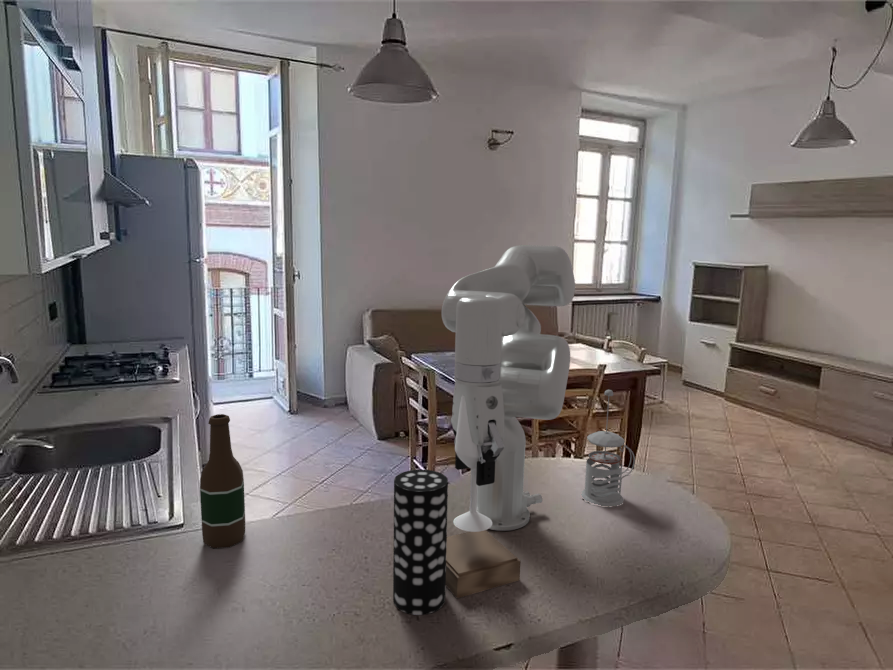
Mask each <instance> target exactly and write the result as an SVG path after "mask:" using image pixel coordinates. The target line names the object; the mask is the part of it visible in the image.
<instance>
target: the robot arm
mask: <svg viewBox="0 0 893 670" xmlns="http://www.w3.org/2000/svg"><path fill="white" fill-rule="evenodd" d="M572 266H573V265H572V262H571V259H570V256H569V254H568V253H567V251H566V250H565V249H564V248H562V247H561V246H558V245H557V246H556V245H530V244H529V245H522V244H521V245H514V246H511V247H509V248H508V249H507V250H505V251H504V252H503V254H502V255H501V256H500V258H499V259H498V261H497V262H496V264H495V265H494V266H493V267H490V268H486V269H484V270H481V271H477V272H474V273H470V274H468V275H466V276H463V277H461V278H460V279H458V280H457V281H456V282H455V283H454V284H453V285H452V287H450V289H449V290H448V292H447V293H446V295H445V297H444V299H443V302H442V304H441V305H442V306H441V319H442V323H443V325H444V326H445V328H446V329H447V330H449V331H451V332H452V333H455V338H454V339H455V340H454V343H455V344H454V377H453V378H454V387H453V388H454V390H453V396H452V397H453V398H452V409H451V410H452V416H451V418H450V422H451V426H452V429H453V430H452V433H453V435H454V441H453V442H454V445H455V443H456V434H457V426H458V417H459V409H460V402H461V397H462V395H463V396H464V398H465V402H466V409H467V416H468V423H469V429H470V434H471V439H472V442H473V443H474V444H476V445H477V450H478V456H479V461H478V462H477V472H476V484H477V512H479V513H481V514H483V515H485V516H486V517H488V518H490V519H491V520H492V526H491V527H490V528H489V529H488V530H492V531H498V532H499V531H502V532H504V531H515V530H518V529H521V528H522V527H524V526H526V525H527V524H528V523H529V522H530V518H531V515H530V514H531V513H530V511H529V509H528V508H530V506H531V505H536V504H537V505H538V504H540V503H542V502H543V496H542V495H541V494H542V493H541V494H540V493H535V494H531V493H530V491H524V487H525V486H524V484H525V483H524V482H525V481H524V480H525V479H524V478H525V464H526V463H525V462H526V461H525V459H526V443H527V442H526V441H527V440H526V435H525V434H526V433H525V431H524V429H523V426H522V425H521V423H520V421H519V420H518V419H517V418H524V419H525V418H527V419H534V420H546V421H548V420H550V421H551V420H554V419H556V418H557V417H559V415H560V414H561V412H562V409H563V406H564V401H565V396H566V390H567V384H568V378H569V374H570V373H569V372H570V366H571V348H570V346H569V343H568V341H567V340H566V339H565V338H563V337H562V336H559V335H553V334H544V333H543V334H542V333H541V332H542V331H541V330H542V325H541V322H540V321H539V320H538V318H537V316H536V315H535V314H534V312H533V311H532V310H531V309H529V308H528V307H527V305H528V306H542V307H543V306H545V307H566V306H568V305H569V304H571V302H572V301H573V299H574V296H575V292H576V281H575V279H576V278H575V275H574V271H573V267H572ZM484 438H490V442H483V439H484ZM484 446H489V450H488V451H487V452H486V453H484V448H483V447H484ZM454 459H455V460H454V461H455V462H454V468H455V469H456V470H457V471H459V470H464V469H465V470H466V469H470V468H469V467H467V466H466V465H465V464H464V463H463V462H462V461H461V460H460V459H459V457H458V456H457V454H456V452H455V458H454ZM469 511H470V507H469V508H468V512H469Z"/></svg>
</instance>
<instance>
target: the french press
mask: <svg viewBox="0 0 893 670" xmlns="http://www.w3.org/2000/svg"><path fill="white" fill-rule="evenodd" d="M604 396H607V397H608V398H607V399H608V400H607V413H606V427H605V428H606V429H605V430H598V431H595V432H592V433H590V434H588V435H587V436H586V437H587V441H588V442H589V443H590V444H591V445H594V446H597V447H604V450H594V451H593V450H592V451H591V452H589V453H588V454H587V456H588V458H587V460H586V461H585V462H586V463H585V479H584V489H583V490H582V491H581V492H582V494H581V495H582V497H583V498H584V499H585V500H586V501H589V502H591V503H594V504H598V505H601V506H617V505H620V504H622V503H623V501H624V502H625V499H624V497H623V495H622V494H621V492H622V480H623V479H624V478H625V477H627V476H629V475H630V474H631V473H632V471H633V469H634V467H635V461H636V457H635V454H634V451H632V449H631V448H630V447H629V446H628V445H626V444H625V442H626V440H625V439H624V438H623V437H622V436H620V435H619V434H617V433H615V432H612V431H609V430H608V422H609V420H608V419H609V406H610V405H609V404H610V397H613V396H614V392H613V390H612V389H606V390H605V391H604ZM606 448H611V449H612V448H619V451H621V453H623V452H624V451H625V448H626V449H627V450H628V451H629V455H630V456H629V458H630V460H629V464H628V466H627V468H626V469H625V470H624V471H623V464H622V463H620V462H621V460H622V457H621V456H620V455H619V454H617V453H615V452H611V451H606ZM632 459H633V462H632ZM596 463H598V464H596ZM631 464H632V466H631ZM593 465H594V466H593ZM630 466H631V469H630V471H629V472H628V473H627V474H625V473H626V472H627V471H628V470H629V468H630ZM601 467H603V468H604V469H603V468H601ZM623 474H624V475H623ZM622 475H623V476H622ZM623 504H624V503H623ZM623 504H622V505H623ZM620 506H621V505H620ZM617 507H618V506H617Z"/></svg>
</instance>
